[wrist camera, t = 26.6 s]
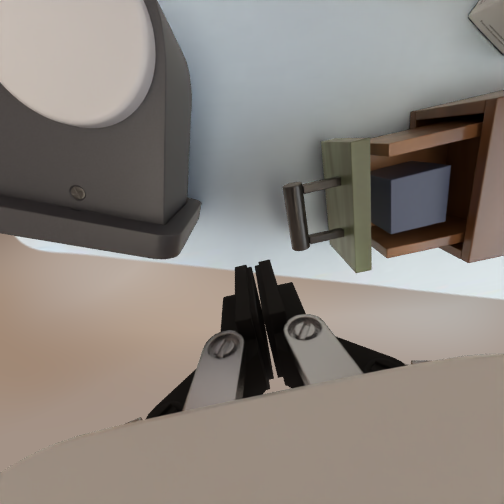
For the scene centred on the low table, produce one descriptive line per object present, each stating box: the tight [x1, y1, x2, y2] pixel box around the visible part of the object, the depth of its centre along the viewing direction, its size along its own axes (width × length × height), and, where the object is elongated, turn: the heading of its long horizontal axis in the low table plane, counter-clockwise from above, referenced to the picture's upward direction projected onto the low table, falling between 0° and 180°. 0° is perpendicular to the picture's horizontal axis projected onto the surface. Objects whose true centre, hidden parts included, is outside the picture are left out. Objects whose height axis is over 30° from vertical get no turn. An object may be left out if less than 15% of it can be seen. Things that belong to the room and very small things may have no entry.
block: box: [370, 161, 451, 234], centre depth 19 cm, size 4×4×4 cm
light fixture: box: [0, 0, 201, 259], centre depth 15 cm, size 11×13×11 cm
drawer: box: [282, 116, 484, 273], centre depth 19 cm, size 14×9×6 cm, turn 102°
